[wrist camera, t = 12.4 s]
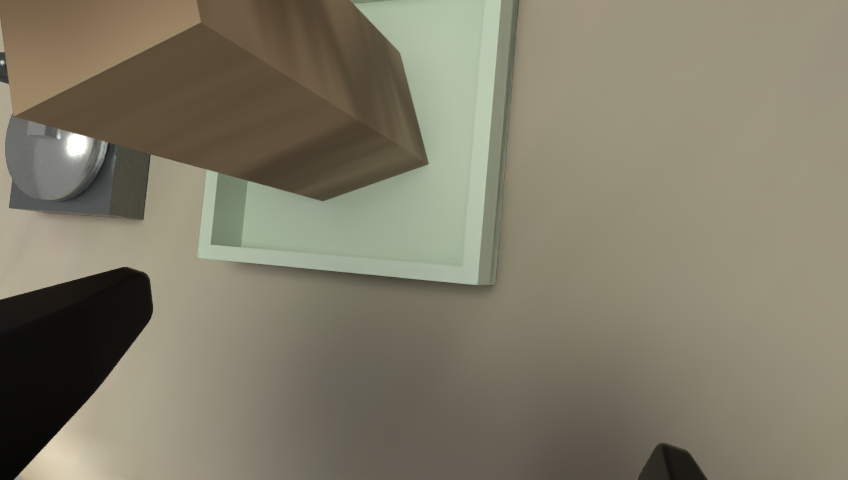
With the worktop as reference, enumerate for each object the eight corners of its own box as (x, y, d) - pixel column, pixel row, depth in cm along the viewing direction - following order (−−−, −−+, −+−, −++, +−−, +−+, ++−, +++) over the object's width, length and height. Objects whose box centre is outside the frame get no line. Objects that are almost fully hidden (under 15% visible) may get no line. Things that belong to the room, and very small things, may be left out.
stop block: (428, 164, 22) (201, 22, 10) (323, 201, 24) (13, 116, 12) (399, 52, 23) (156, -204, 11) (299, 95, 25) (-14, -88, 12)
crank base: (142, 219, 28) (109, 215, 27) (46, 212, 31) (8, 208, 29) (157, 85, 29) (125, 72, 27) (61, 88, 31) (25, 76, 29)
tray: (495, 284, 22) (477, 285, 19) (242, 260, 26) (197, 257, 23) (519, -13, 23) (505, -55, 20) (268, 9, 27) (227, -23, 24)
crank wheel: (100, 203, 27) (8, 189, 23) (14, 198, 29) (-85, 184, 25) (114, 81, 27) (25, 46, 23) (28, 85, 29) (-67, 52, 25)
